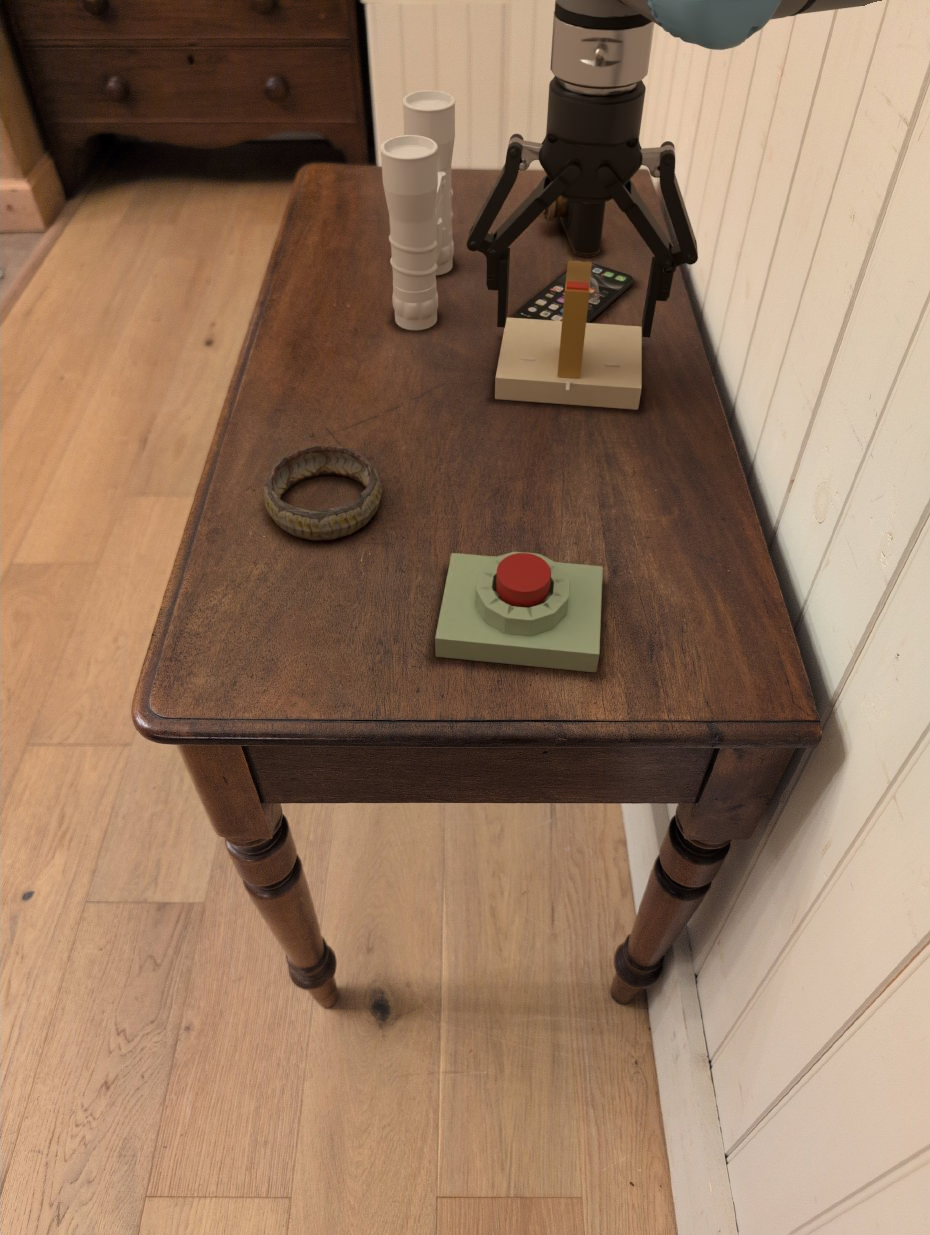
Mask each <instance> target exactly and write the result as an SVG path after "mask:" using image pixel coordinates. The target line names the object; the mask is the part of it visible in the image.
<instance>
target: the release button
mask: <svg viewBox="0 0 930 1235" xmlns="http://www.w3.org/2000/svg"><path fill="white" fill-rule="evenodd" d="M529 553H530V552H526V553H517V554H512V555H510V556H507V557H506V558H504V559H503V560H502V561H501V562H500V563H499V565H498V567H497V576H496V590H497V593H498V595H499V597H500V598H501V599H502V600H503V601H504V602H506V603H508V604H510V605H512V606H516V607H532V606H535V605H538V604H540V603H541V602H543V601H544V600H545V599H546V598H547V596H548V594H549V591H550V582H551V569H550V567H549V565H548V564H547V562H546V561H545V560H543V559H542V558H540V557H539V556H536V555H533V554H529Z"/></svg>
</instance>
